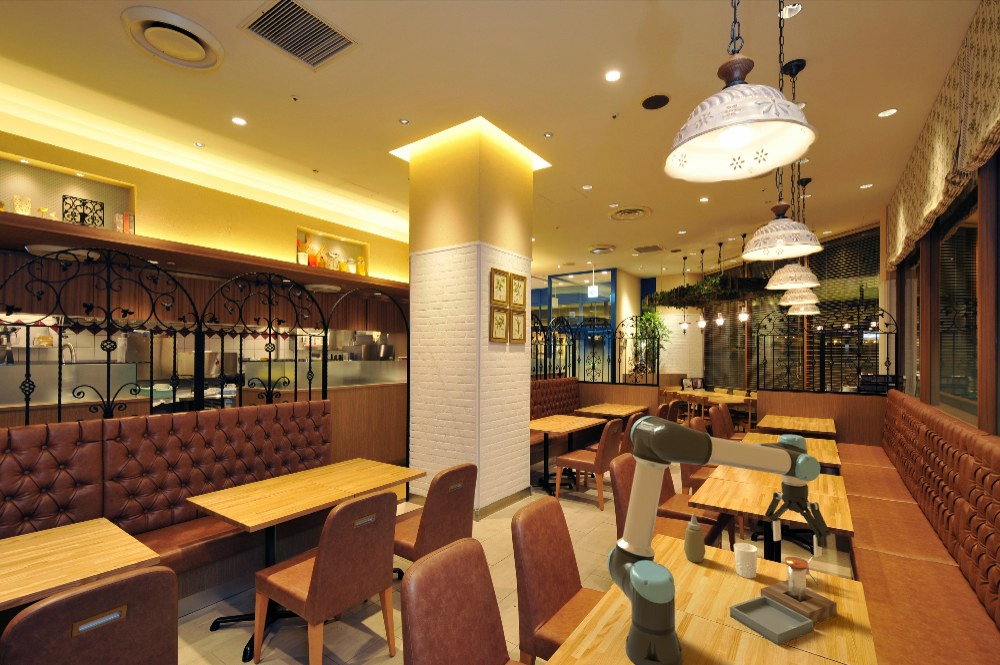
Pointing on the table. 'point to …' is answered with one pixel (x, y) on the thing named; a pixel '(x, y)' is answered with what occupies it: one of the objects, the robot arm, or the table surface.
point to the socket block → (812, 608)
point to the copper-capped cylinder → (797, 578)
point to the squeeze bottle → (694, 541)
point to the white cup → (745, 559)
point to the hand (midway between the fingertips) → (796, 547)
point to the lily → (808, 570)
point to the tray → (771, 619)
